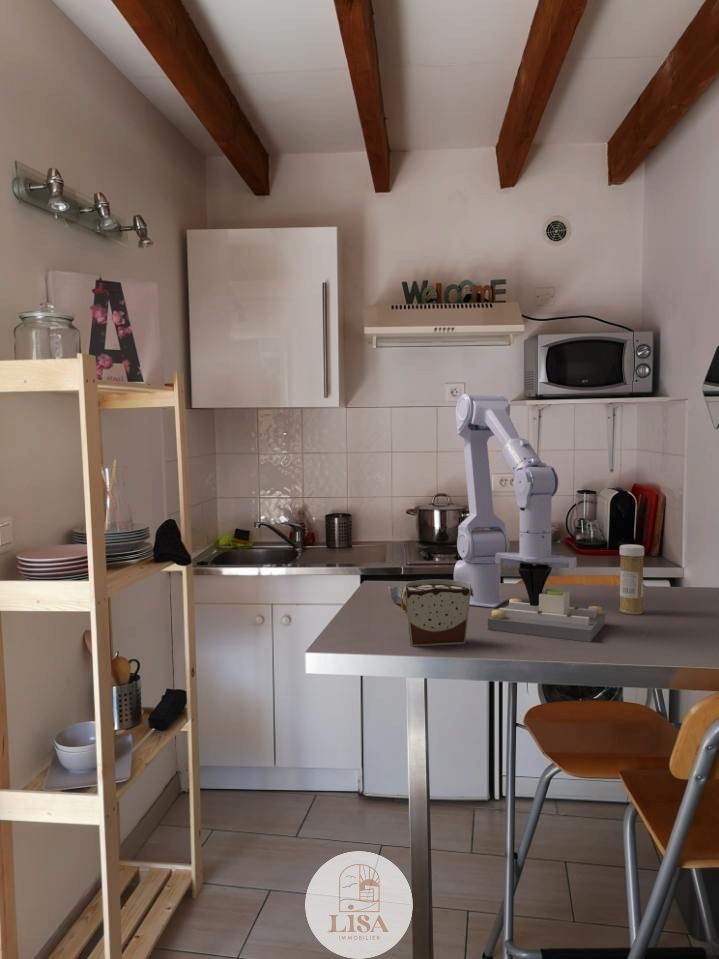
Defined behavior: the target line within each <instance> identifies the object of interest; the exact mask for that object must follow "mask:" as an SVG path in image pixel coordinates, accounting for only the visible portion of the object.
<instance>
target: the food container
mask: <svg viewBox="0 0 719 959" xmlns="http://www.w3.org/2000/svg"><path fill="white" fill-rule="evenodd" d="M403 588H404V589H403V593H402V599H404V595H405V596H406V606H407V609H406V614H407V623H408V631H409V634H408V635H409V641H410V642H409V643H410V647H424V646H425V647H426V646H429V647H430V646H441V645H442V646H443V645H446V646H447V645H463V644H466V642H467V641H466V640H467V630H468V624H469V623H468V622H469V621H468V620H469V611H470V605H469V603H470V595H471V596H474V594H473V589H472V588H471V584H469V583H466V582H461V581H454V579H421V580H419V579H418V580H414V581H409V582H407V583H406V584H404V587H403Z"/></svg>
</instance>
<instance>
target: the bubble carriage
mask: <svg viewBox="0 0 719 959" xmlns="http://www.w3.org/2000/svg"><path fill="white" fill-rule="evenodd" d="M570 599H571V597H570V591H564V589H561V588H545V590H543V591H542V593H541V594H539V611H542V612H544V613H553V614H563V615H568V614H569V607H571V606H570V602H571V601H570Z"/></svg>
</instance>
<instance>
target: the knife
mask: <svg viewBox="0 0 719 959" xmlns="http://www.w3.org/2000/svg"><path fill="white" fill-rule="evenodd" d="M387 588H388V592H389V594H390V599H391V600H392V603H393V604H399V605H400V607H401V609H402V611H404V612H405V611H407V606H406V596H405V595H404V599H402V593H403V589H404V588H405V587H402V588H401V587H399V586H398V585H397V586H396V585H395V587H394V588H392V587H390V586H387Z"/></svg>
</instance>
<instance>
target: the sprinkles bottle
mask: <svg viewBox="0 0 719 959" xmlns="http://www.w3.org/2000/svg"><path fill="white" fill-rule="evenodd" d="M619 556H620V564H619V565H620V568H619V598H620V599H619V600H620V601H619V602H620V603H619V605H620V606H619V612H621V613H623V614H625V615H632V616H633V615H635V616H636V615H641V614H644V556H645V547H644V545H640V544H630V543H629V544H621V545H620V546H619Z"/></svg>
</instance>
